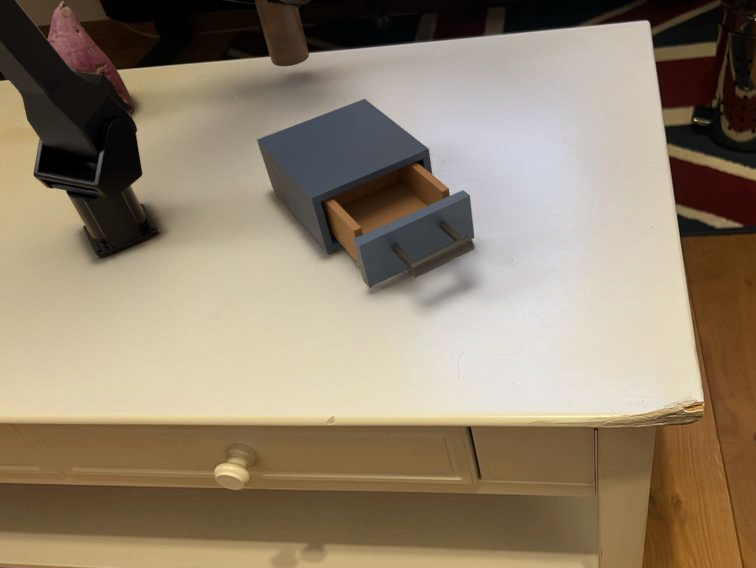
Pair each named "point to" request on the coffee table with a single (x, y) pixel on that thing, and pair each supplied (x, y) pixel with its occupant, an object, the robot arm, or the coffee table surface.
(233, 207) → the coffee table surface
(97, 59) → the vegetable
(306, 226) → the cabinet
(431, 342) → the coffee table surface
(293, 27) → the pepper mill
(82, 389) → the coffee table surface
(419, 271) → the drawer
